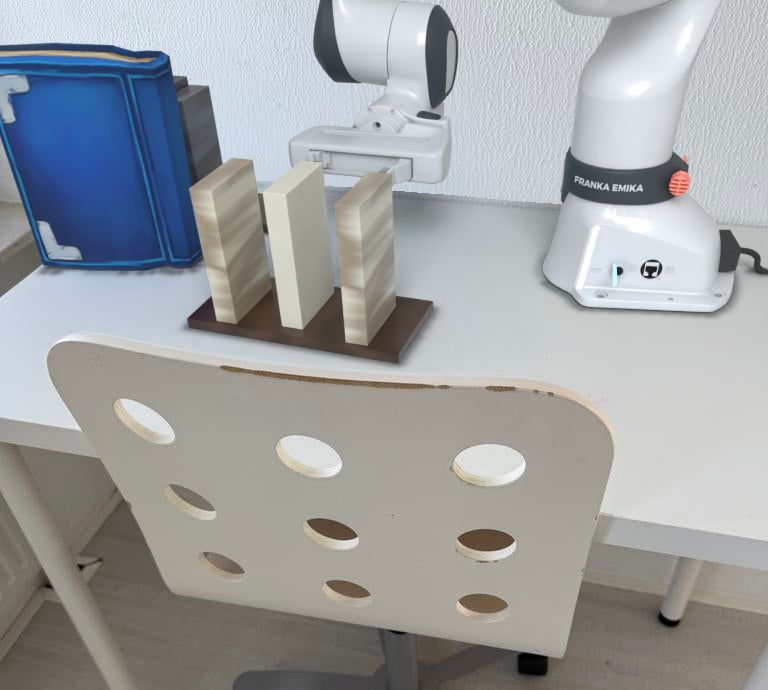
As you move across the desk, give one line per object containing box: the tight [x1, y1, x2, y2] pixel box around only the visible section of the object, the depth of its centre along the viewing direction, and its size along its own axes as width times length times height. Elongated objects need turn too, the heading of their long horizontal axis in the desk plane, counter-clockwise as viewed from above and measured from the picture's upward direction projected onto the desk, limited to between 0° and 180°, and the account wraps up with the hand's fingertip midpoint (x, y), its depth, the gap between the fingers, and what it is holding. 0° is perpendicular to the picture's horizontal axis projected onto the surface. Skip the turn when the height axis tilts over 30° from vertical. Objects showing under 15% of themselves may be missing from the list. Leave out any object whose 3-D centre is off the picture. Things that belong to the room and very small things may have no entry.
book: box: [0, 42, 203, 271], centre depth 94 cm, size 22×7×25 cm, turn 84°
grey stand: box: [173, 75, 269, 234], centre depth 107 cm, size 17×10×17 cm, turn 69°
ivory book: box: [262, 161, 335, 330], centre depth 84 cm, size 3×9×15 cm, turn 159°
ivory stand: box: [186, 157, 434, 365], centre depth 84 cm, size 26×12×16 cm, turn 69°
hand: (346, 177), depth 90 cm, fingers open, 8 cm apart
